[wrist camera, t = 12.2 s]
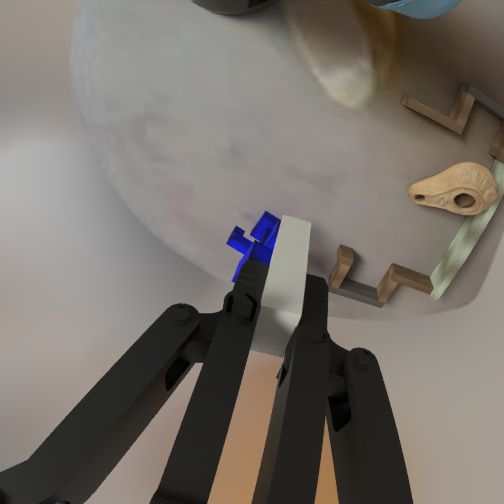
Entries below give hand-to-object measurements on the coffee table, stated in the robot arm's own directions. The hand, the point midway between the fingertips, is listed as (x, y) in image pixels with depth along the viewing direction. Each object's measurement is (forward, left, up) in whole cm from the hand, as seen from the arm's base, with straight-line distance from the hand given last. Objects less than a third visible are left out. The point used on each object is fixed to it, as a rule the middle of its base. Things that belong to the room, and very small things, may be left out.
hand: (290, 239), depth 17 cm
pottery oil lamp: (-2, +20, -26) cm, 32 cm away
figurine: (+14, -1, -26) cm, 29 cm away
